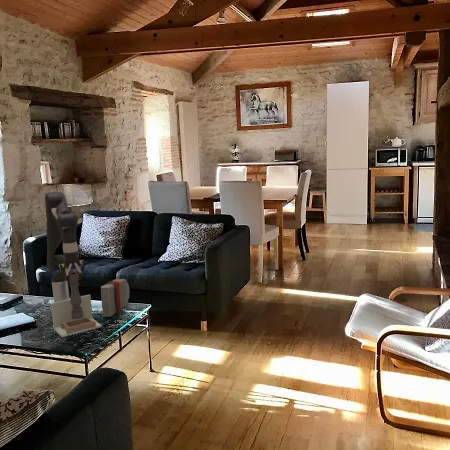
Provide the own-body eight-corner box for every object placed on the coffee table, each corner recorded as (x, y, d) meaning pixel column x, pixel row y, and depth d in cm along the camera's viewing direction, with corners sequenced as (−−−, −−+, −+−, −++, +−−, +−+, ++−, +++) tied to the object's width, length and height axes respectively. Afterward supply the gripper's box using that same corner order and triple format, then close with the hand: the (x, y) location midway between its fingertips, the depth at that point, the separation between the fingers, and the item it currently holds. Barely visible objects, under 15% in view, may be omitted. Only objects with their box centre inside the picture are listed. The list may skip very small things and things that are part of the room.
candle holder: (83, 318, 279) (79, 274, 274) (71, 319, 277) (67, 275, 273) (83, 314, 285) (78, 271, 280) (71, 316, 283) (67, 272, 278)
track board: (53, 328, 284) (50, 303, 281) (92, 319, 296) (89, 294, 293) (61, 337, 272) (58, 310, 269) (101, 326, 284) (99, 301, 281)
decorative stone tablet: (109, 286, 290) (130, 275, 319) (99, 285, 292) (120, 275, 321) (111, 319, 292) (131, 305, 321) (100, 319, 293) (121, 305, 323)
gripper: (81, 247, 281) (84, 276, 284) (55, 251, 273) (58, 281, 276) (86, 249, 275) (89, 279, 278) (59, 254, 267) (62, 284, 270)
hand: (73, 280), depth 277 cm, fingers closed on candle holder, 5 cm apart
